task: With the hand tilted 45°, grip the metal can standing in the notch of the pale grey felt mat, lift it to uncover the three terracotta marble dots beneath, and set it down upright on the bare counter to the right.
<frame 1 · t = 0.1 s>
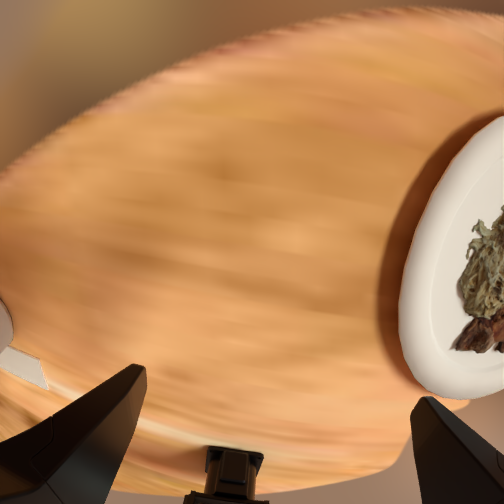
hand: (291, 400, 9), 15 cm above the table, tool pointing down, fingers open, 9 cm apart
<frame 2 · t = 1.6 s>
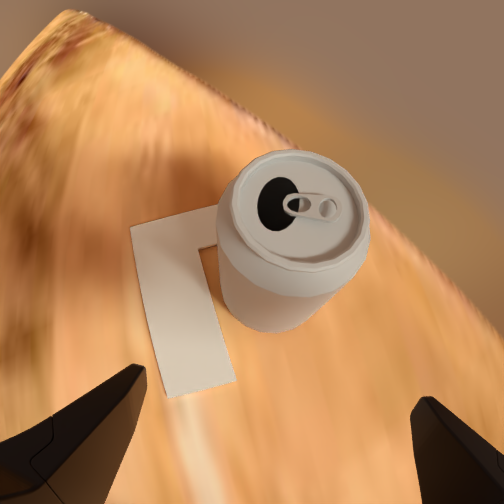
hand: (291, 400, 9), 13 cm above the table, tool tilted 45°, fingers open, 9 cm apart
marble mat: (270, 287, 24), on the table
can: (270, 287, 24), on the table, touching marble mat
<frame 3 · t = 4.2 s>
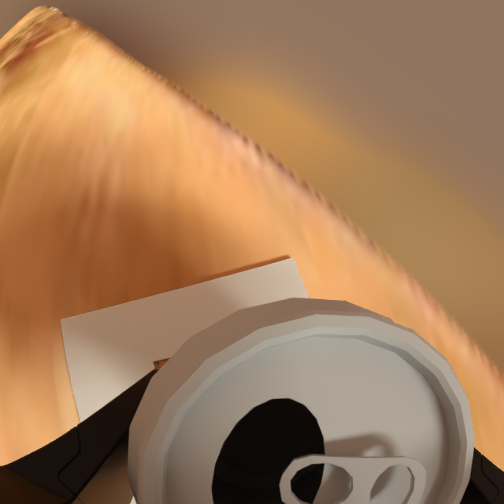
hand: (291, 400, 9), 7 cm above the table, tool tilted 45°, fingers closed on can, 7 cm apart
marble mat: (261, 420, 15), on the table
can: (261, 420, 15), on the table, touching gripper, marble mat
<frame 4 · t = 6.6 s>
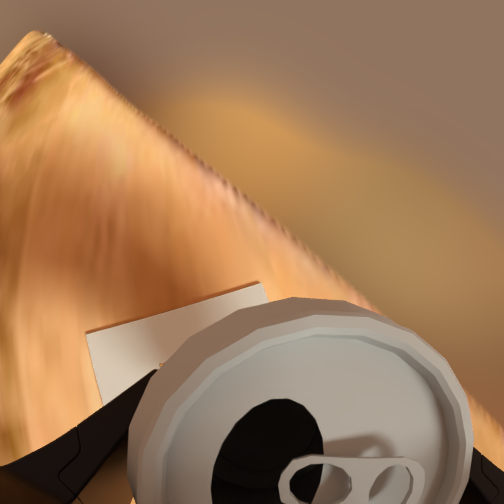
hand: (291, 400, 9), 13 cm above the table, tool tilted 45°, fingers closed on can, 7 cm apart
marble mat: (239, 405, 20), on the table
can: (261, 418, 15), point 6 cm above the table, touching gripper
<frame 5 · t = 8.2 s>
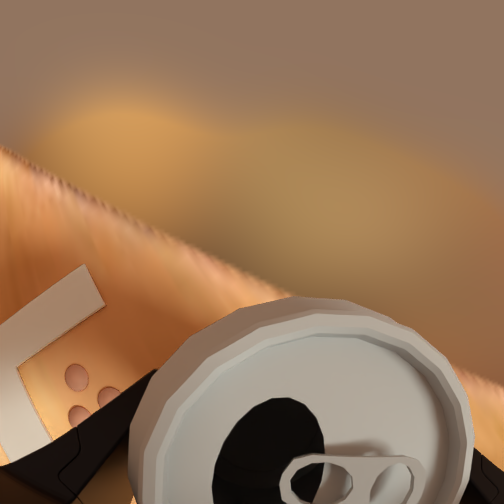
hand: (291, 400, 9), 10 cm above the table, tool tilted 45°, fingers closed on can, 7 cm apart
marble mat: (87, 396, 17), on the table
can: (261, 418, 15), point 3 cm above the table, touching gripper
when the fingers open (8 cm above the table, at t = 9.2 s): can drops 1 cm, on the table.
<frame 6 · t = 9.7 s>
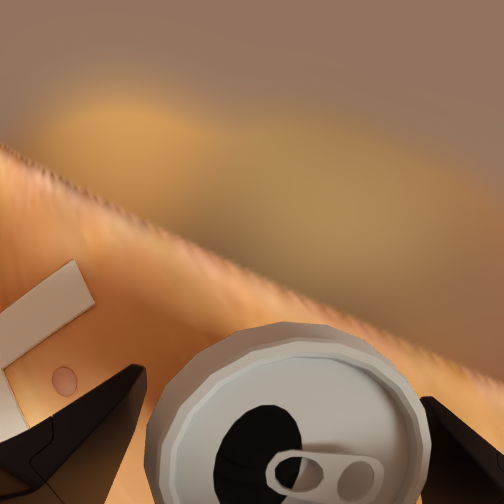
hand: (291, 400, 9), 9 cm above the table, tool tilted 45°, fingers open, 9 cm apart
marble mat: (75, 401, 15), on the table
can: (257, 419, 16), on the table
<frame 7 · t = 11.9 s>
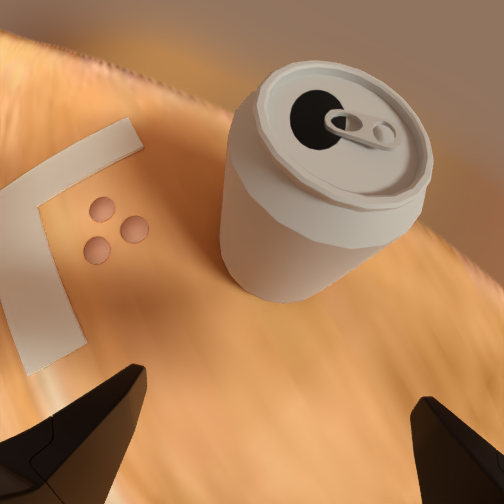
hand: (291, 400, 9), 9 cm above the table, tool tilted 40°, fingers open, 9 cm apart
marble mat: (109, 226, 19), on the table
can: (278, 247, 20), on the table
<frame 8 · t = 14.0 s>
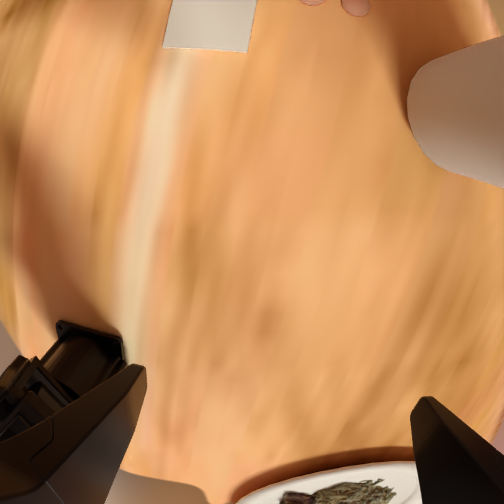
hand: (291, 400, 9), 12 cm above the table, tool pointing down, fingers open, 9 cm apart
can: (448, 115, 16), on the table
plated food: (337, 502, 33), on the table
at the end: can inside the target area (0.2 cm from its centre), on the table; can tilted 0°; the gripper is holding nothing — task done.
